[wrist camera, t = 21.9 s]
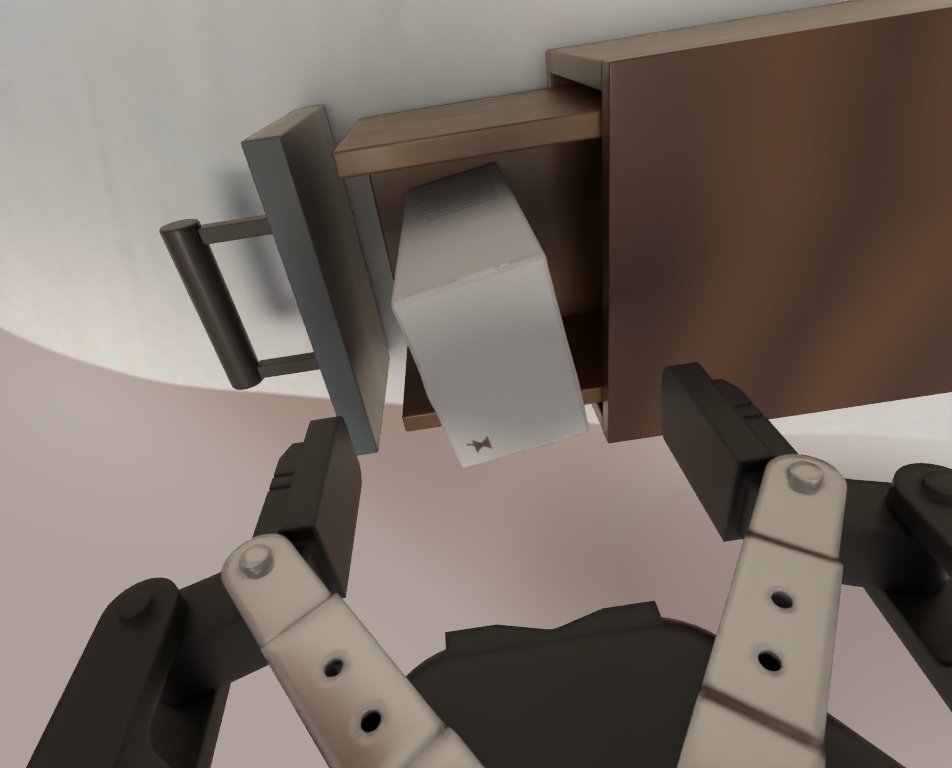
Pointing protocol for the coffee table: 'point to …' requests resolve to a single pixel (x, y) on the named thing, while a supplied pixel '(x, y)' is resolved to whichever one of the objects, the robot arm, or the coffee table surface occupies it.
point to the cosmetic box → (484, 319)
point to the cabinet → (776, 207)
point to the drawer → (391, 176)
